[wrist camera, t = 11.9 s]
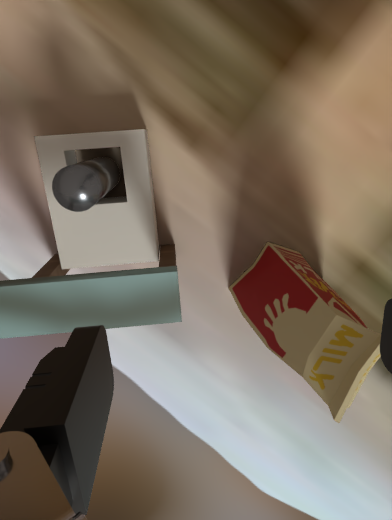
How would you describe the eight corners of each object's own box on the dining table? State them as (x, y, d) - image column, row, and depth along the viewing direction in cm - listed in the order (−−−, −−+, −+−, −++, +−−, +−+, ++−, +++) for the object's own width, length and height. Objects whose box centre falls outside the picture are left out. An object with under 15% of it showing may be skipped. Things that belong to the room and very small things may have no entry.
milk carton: (280, 328, 45) (360, 465, 26) (225, 290, 43) (269, 410, 24) (329, 275, 43) (454, 382, 24) (274, 231, 41) (365, 313, 22)
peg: (90, 190, 38) (57, 213, 26) (85, 157, 36) (47, 167, 25) (122, 188, 38) (102, 210, 26) (118, 155, 37) (95, 163, 25)
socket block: (48, 136, 35) (34, 136, 32) (146, 129, 36) (144, 129, 32) (72, 256, 40) (61, 269, 36) (159, 249, 40) (158, 261, 36)
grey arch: (48, 233, 39) (-23, 288, 24) (174, 223, 39) (177, 271, 25) (56, 267, 40) (-7, 339, 26) (177, 257, 41) (181, 321, 26)
